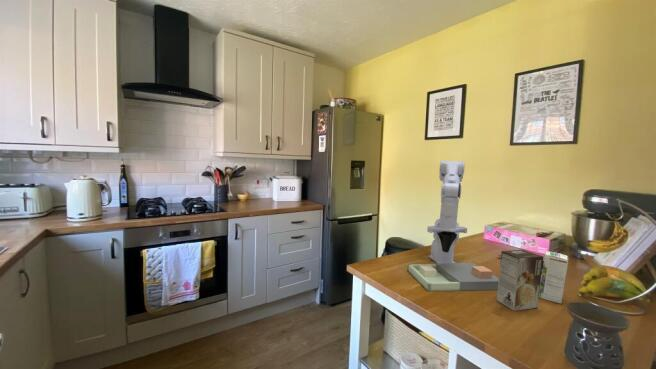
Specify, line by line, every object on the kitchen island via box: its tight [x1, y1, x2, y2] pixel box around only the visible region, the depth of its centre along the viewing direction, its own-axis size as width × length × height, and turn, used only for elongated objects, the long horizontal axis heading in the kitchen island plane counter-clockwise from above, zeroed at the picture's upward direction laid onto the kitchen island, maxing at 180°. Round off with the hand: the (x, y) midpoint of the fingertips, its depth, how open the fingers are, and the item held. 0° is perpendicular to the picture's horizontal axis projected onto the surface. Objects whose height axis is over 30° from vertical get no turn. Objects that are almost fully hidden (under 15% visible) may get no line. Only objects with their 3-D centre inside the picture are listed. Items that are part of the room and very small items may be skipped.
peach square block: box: [471, 265, 493, 279], centre depth 96 cm, size 4×4×2 cm
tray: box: [407, 263, 460, 292], centre depth 98 cm, size 16×11×2 cm
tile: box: [419, 266, 437, 277], centre depth 101 cm, size 4×4×2 cm
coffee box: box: [496, 249, 544, 312], centre depth 83 cm, size 9×6×16 cm
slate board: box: [434, 262, 499, 292], centre depth 100 cm, size 16×16×3 cm
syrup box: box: [539, 250, 569, 305], centre depth 88 cm, size 6×6×14 cm
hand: (445, 251), depth 101 cm, fingers closed
